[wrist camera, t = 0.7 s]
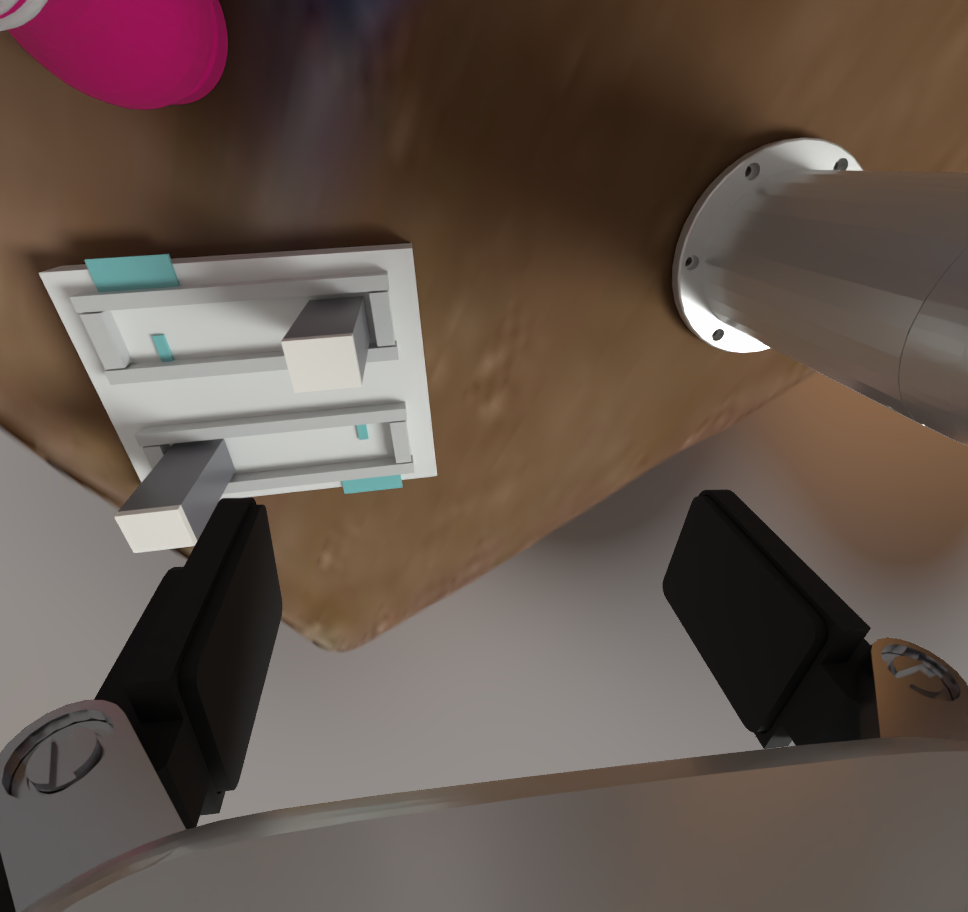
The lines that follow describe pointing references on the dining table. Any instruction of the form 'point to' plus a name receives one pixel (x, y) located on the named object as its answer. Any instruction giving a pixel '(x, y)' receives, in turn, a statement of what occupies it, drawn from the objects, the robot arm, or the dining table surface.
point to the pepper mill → (125, 46)
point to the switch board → (253, 363)
